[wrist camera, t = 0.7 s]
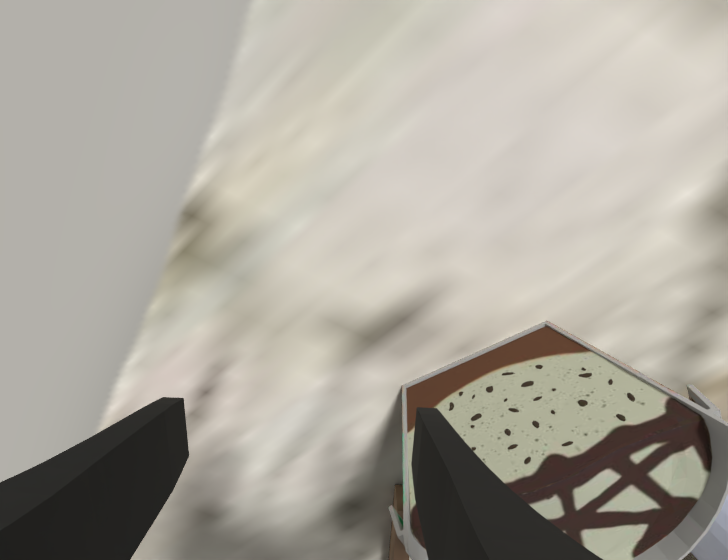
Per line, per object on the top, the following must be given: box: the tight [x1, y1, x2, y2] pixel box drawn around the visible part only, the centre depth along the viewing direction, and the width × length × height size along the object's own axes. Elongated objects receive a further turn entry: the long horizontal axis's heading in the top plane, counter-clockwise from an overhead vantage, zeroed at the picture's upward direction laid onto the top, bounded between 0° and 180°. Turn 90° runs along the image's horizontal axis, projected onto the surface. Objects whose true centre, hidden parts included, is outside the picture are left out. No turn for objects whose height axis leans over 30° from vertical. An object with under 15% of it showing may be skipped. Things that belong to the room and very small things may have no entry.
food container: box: [388, 321, 728, 560], centre depth 18 cm, size 12×6×10 cm, turn 117°
